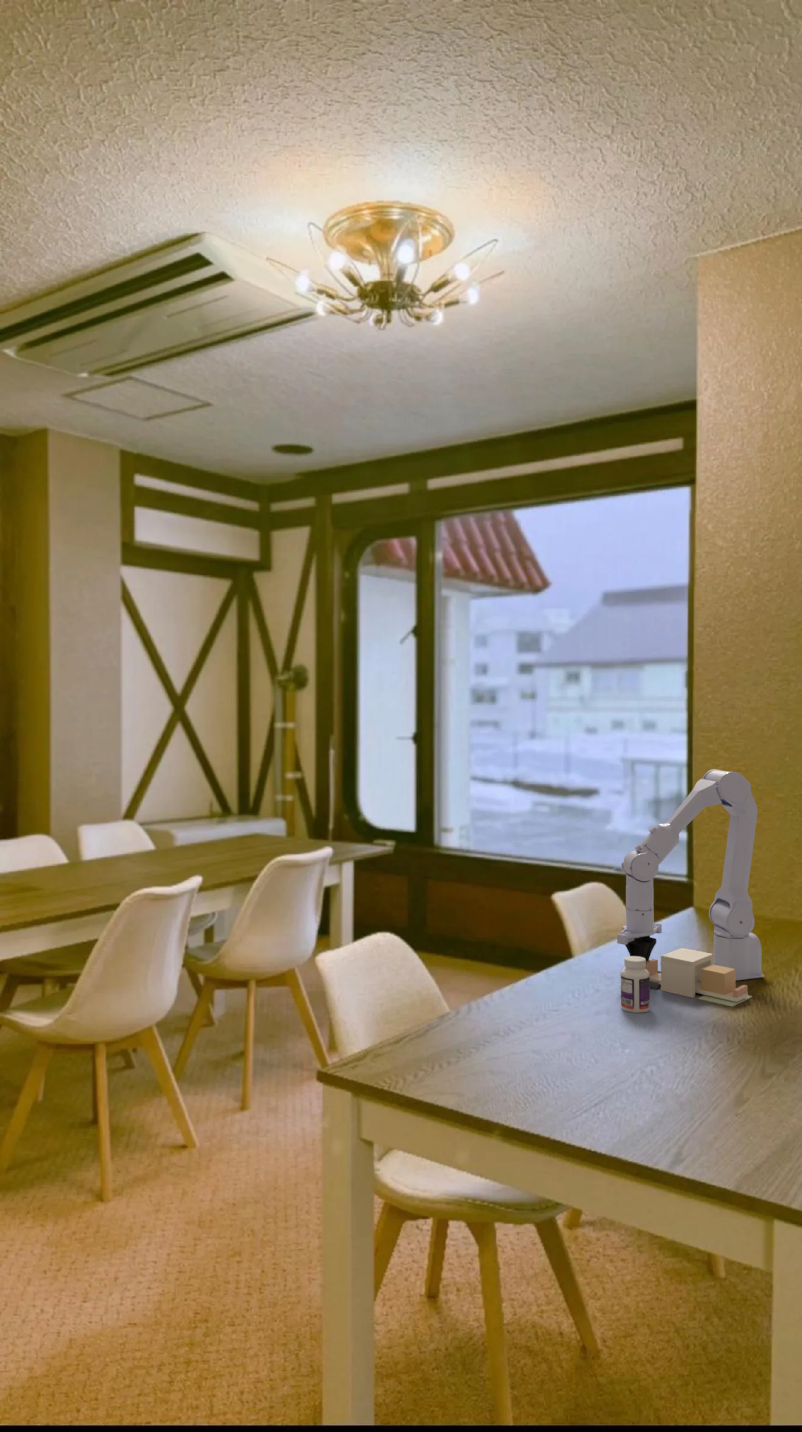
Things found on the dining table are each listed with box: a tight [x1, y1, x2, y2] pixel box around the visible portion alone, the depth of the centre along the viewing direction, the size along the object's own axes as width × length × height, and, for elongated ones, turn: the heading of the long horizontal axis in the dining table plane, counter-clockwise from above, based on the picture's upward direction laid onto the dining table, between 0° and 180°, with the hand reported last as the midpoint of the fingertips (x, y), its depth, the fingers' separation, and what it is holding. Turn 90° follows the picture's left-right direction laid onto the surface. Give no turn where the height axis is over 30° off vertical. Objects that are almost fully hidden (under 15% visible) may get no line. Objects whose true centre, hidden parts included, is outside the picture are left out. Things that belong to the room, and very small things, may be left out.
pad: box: [698, 994, 753, 1008], centre depth 189 cm, size 9×7×1 cm
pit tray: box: [650, 970, 661, 990], centre depth 200 cm, size 9×5×1 cm, turn 135°
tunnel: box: [660, 947, 714, 998], centre depth 195 cm, size 9×7×7 cm
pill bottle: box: [620, 955, 651, 1014], centre depth 183 cm, size 5×5×10 cm
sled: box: [645, 958, 749, 1002], centre depth 194 cm, size 5×21×5 cm, turn 45°
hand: (640, 972), depth 203 cm, fingers closed, pressing on sled
